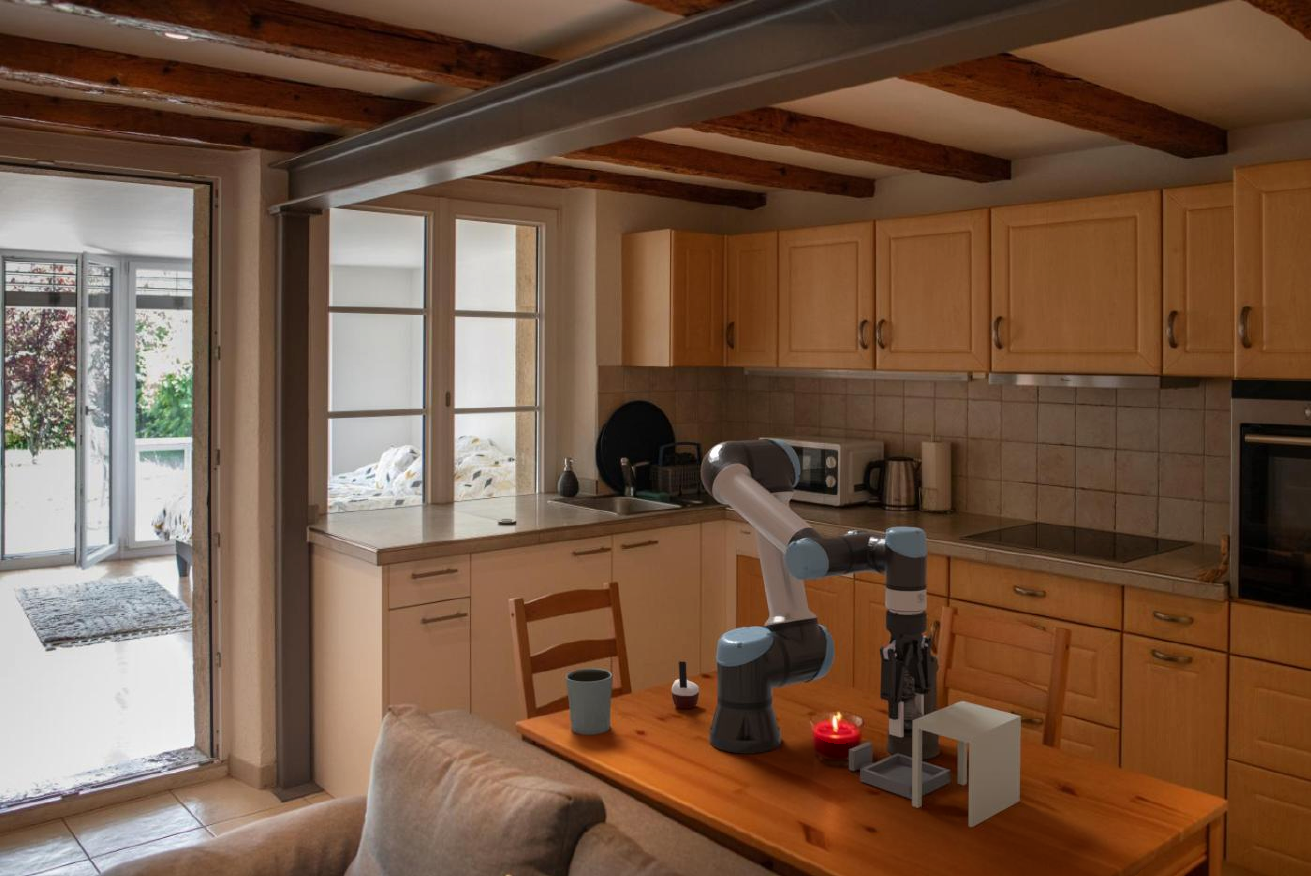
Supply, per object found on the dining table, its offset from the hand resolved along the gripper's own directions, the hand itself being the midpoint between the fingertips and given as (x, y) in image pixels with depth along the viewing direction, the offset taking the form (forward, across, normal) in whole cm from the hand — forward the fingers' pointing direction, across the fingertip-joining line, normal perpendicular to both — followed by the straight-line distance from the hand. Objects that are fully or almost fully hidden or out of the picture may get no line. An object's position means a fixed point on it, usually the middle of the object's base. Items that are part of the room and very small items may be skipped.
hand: (906, 730), depth 196 cm
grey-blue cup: (+10, -25, +65) cm, 71 cm away
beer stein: (+10, +17, +10) cm, 22 cm away
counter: (+10, 0, -13) cm, 16 cm away
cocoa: (+10, 0, +61) cm, 62 cm away
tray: (+10, 0, +3) cm, 10 cm away
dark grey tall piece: (+1, 0, 0) cm, 1 cm away
